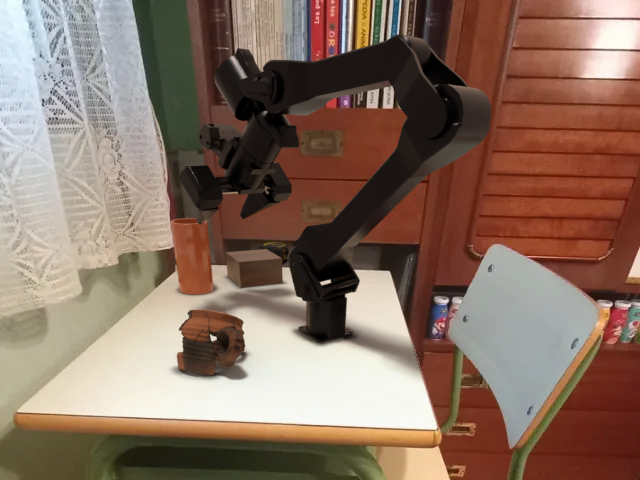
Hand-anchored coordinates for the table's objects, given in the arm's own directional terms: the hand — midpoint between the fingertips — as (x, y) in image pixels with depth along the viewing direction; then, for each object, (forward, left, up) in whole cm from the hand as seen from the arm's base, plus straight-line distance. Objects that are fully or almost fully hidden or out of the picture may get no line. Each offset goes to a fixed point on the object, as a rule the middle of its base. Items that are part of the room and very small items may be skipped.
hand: (220, 219), depth 83 cm
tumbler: (+7, +3, -14) cm, 16 cm away
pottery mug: (-27, +13, -14) cm, 33 cm away
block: (+8, -10, -14) cm, 19 cm away
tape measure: (+20, -21, -14) cm, 32 cm away
